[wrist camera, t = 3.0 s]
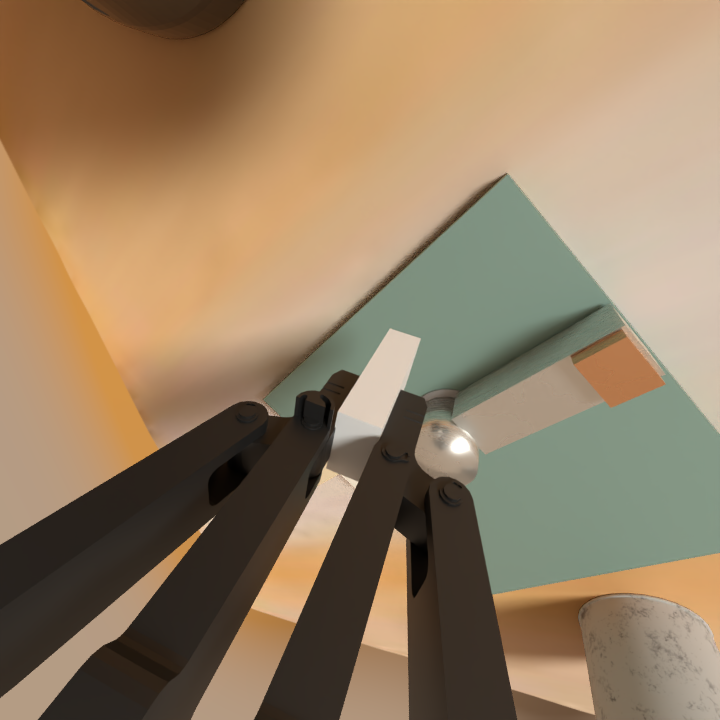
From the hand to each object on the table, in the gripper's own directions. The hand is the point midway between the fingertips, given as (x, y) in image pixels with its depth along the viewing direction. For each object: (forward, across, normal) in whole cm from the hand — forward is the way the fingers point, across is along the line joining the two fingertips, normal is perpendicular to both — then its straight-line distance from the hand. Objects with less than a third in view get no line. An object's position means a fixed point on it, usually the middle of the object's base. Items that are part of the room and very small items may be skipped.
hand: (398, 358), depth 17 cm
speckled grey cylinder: (+8, +26, -23) cm, 36 cm away
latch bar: (+6, +7, -3) cm, 10 cm away
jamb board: (+8, +8, -10) cm, 14 cm away
